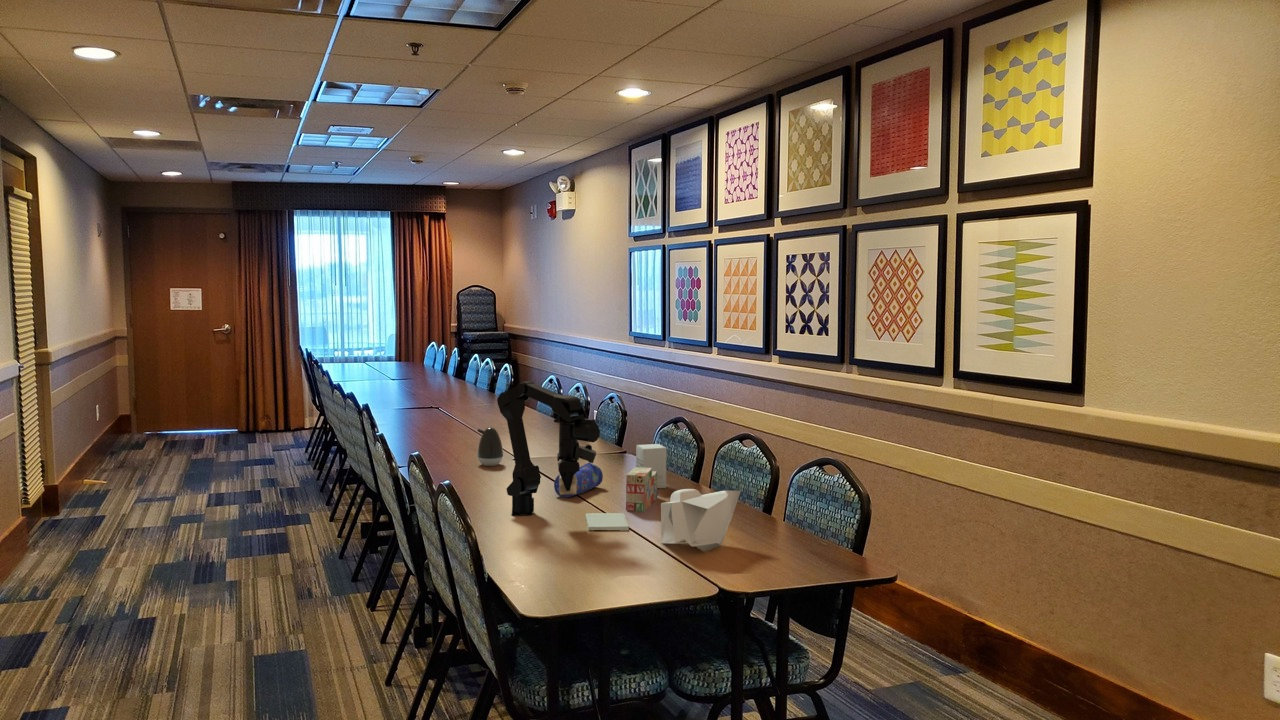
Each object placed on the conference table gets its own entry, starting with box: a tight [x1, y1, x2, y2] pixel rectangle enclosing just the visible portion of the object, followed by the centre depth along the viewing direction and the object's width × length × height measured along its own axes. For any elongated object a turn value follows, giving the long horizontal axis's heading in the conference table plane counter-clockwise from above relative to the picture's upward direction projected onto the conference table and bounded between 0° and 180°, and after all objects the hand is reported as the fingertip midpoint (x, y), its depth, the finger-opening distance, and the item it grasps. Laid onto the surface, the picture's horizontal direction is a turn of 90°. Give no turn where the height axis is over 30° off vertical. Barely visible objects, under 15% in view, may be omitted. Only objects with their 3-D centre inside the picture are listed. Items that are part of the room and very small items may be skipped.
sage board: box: [585, 512, 629, 531], centre depth 283 cm, size 12×16×1 cm
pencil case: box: [553, 462, 604, 498], centre depth 324 cm, size 22×9×10 cm, turn 153°
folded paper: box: [660, 488, 742, 553], centre depth 260 cm, size 17×24×17 cm
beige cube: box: [559, 474, 577, 494], centre depth 281 cm, size 5×5×5 cm
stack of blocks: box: [625, 466, 658, 513], centre depth 309 cm, size 21×6×12 cm, turn 168°
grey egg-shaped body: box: [477, 427, 504, 467], centre depth 369 cm, size 10×10×15 cm
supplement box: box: [635, 443, 667, 489], centre depth 335 cm, size 9×9×15 cm
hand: (567, 488), depth 281 cm, fingers closed on beige cube, 5 cm apart
